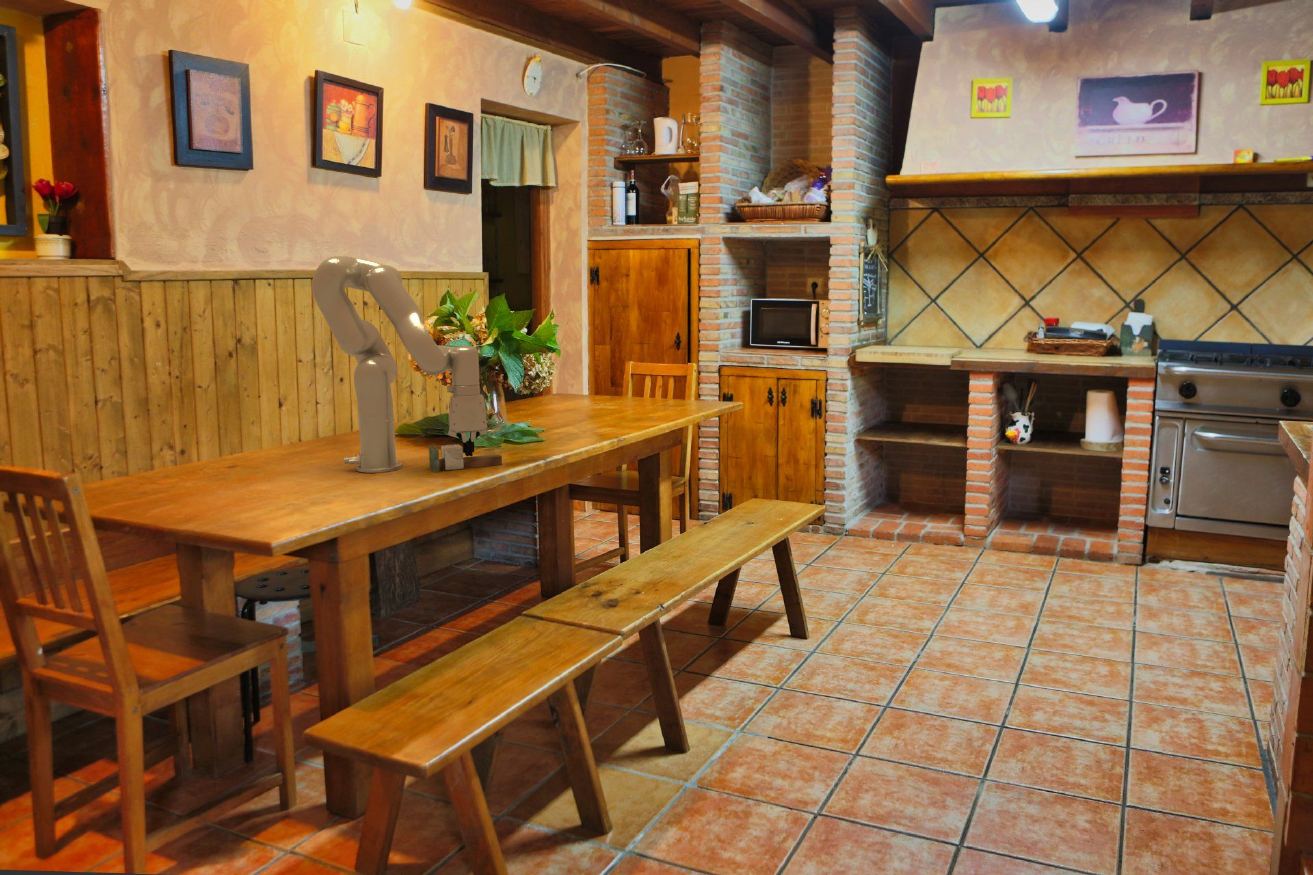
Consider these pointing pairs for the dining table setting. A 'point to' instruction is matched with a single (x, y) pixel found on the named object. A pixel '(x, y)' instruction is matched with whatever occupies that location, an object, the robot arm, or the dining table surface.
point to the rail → (468, 462)
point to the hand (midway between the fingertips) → (468, 455)
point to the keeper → (452, 456)
